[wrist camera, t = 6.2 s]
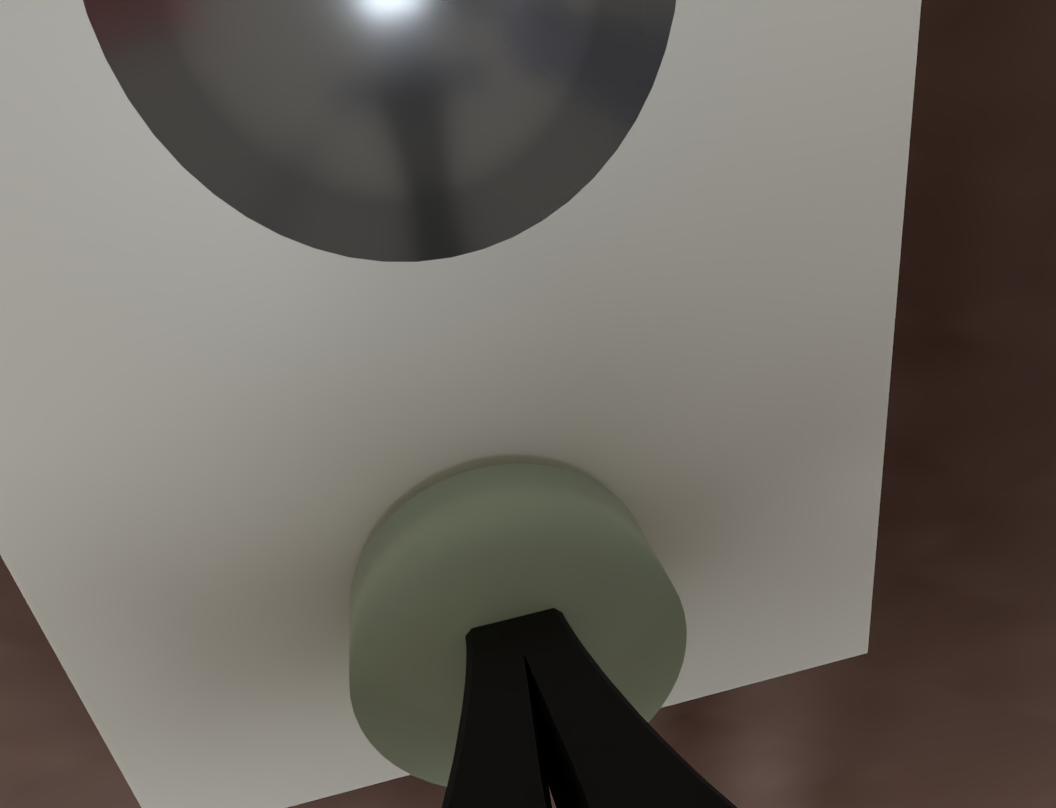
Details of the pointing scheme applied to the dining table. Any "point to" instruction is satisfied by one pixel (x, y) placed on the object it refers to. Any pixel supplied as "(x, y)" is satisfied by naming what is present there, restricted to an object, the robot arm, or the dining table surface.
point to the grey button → (388, 109)
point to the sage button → (500, 600)
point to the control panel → (441, 386)
